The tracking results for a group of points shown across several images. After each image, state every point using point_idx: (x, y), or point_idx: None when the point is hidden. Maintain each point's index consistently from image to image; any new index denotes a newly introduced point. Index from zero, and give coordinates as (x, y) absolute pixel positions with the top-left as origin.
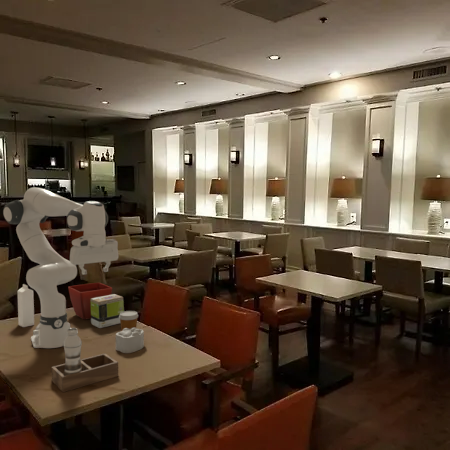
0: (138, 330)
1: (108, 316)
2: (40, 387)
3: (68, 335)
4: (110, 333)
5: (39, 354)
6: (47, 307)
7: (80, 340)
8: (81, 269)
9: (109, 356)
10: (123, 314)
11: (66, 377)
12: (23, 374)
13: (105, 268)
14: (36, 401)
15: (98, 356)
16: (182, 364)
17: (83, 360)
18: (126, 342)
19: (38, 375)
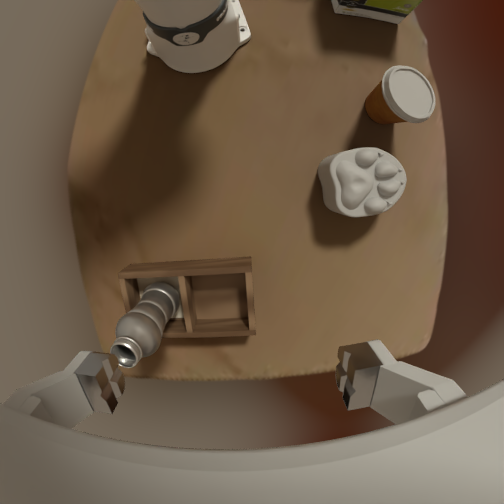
0: (391, 194)
1: (368, 4)
2: (109, 278)
3: (118, 348)
4: (348, 56)
5: (143, 94)
6: (141, 6)
7: (153, 351)
8: (58, 387)
9: (252, 292)
10: (398, 83)
11: None
12: (91, 196)
13: (353, 404)
14: (101, 325)
15: (230, 272)
16: (382, 335)
17: (189, 275)
18: (338, 212)
19: (112, 219)
